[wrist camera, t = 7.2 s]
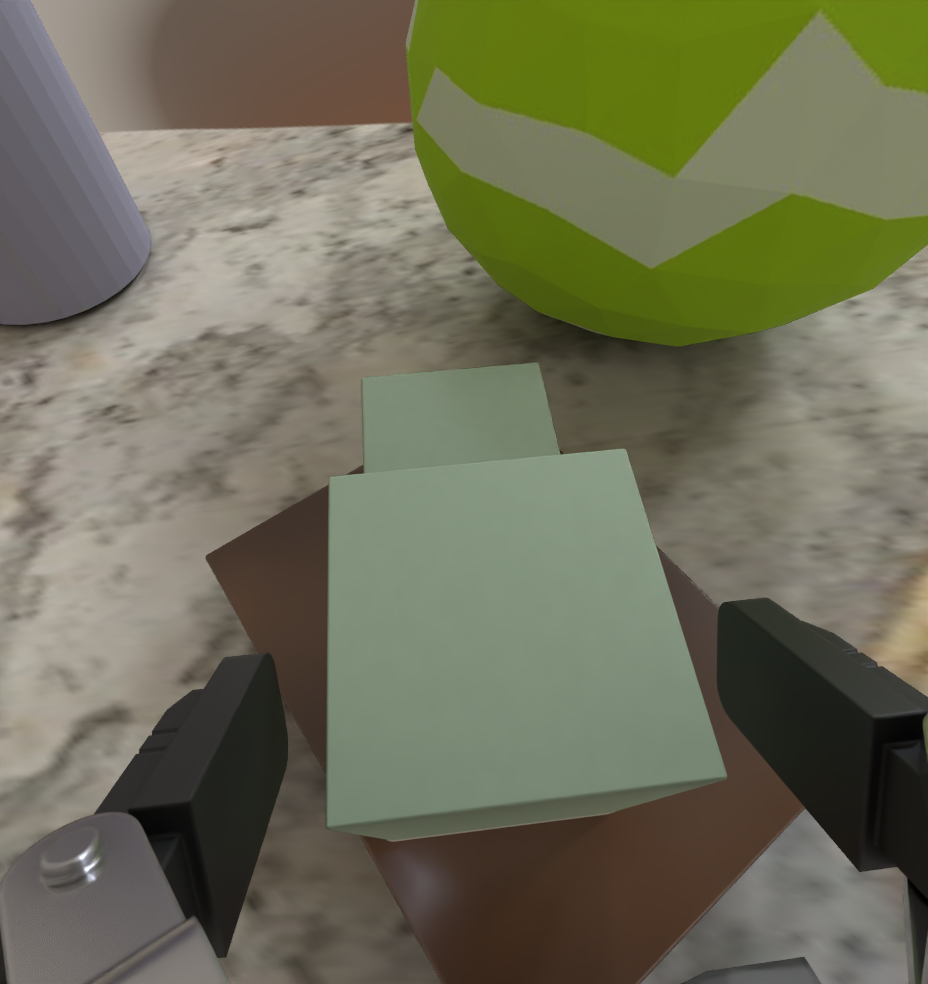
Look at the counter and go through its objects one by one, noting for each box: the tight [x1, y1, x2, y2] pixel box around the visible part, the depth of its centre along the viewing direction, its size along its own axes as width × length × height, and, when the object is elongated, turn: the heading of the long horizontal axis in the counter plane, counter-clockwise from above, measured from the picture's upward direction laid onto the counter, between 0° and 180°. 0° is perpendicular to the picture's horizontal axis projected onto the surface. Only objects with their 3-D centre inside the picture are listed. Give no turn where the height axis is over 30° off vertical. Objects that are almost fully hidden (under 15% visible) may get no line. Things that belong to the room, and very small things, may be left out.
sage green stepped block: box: [325, 362, 727, 842], centre depth 15 cm, size 12×6×8 cm, turn 6°
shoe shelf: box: [206, 451, 805, 984], centre depth 19 cm, size 16×12×4 cm
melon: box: [406, 0, 928, 347], centre depth 23 cm, size 20×25×20 cm
